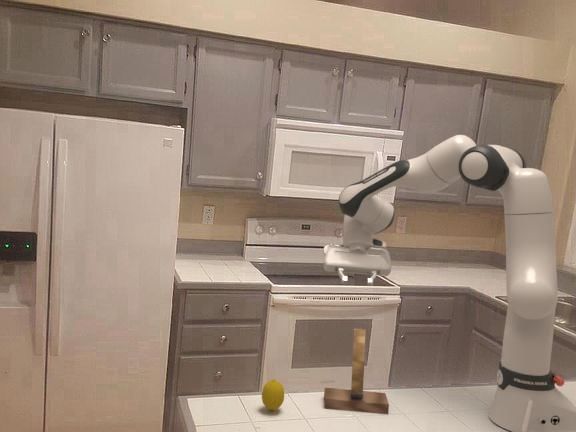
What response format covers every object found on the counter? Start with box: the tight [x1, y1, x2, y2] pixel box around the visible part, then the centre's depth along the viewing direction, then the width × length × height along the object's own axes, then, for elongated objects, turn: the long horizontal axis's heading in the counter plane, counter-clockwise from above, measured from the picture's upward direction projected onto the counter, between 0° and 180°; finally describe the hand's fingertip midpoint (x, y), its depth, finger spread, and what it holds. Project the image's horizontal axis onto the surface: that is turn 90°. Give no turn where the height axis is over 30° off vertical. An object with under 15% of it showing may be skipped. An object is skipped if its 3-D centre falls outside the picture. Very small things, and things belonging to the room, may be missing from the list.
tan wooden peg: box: [350, 328, 367, 398], centre depth 135 cm, size 3×3×17 cm
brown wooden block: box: [323, 387, 390, 415], centre depth 135 cm, size 16×7×3 cm, turn 87°
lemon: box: [261, 378, 285, 412], centre depth 128 cm, size 6×6×8 cm
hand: (357, 283), depth 154 cm, fingers open, 6 cm apart
